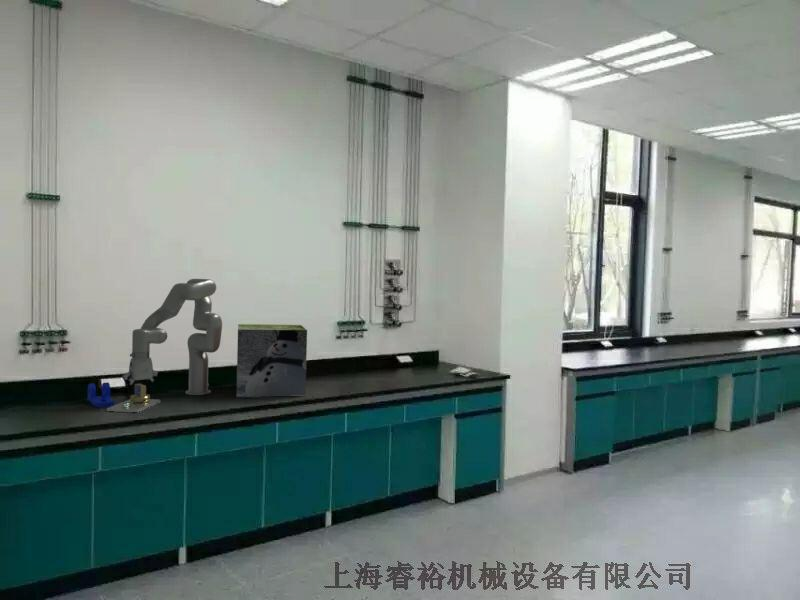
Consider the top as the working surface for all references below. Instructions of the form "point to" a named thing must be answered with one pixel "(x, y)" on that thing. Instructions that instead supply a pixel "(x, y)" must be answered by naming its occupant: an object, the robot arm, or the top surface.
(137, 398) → the footscrew knob
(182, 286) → the robot arm
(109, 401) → the bracket
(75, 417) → the top surface
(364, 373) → the top surface
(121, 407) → the plate
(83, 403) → the top surface
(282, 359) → the photo cube
